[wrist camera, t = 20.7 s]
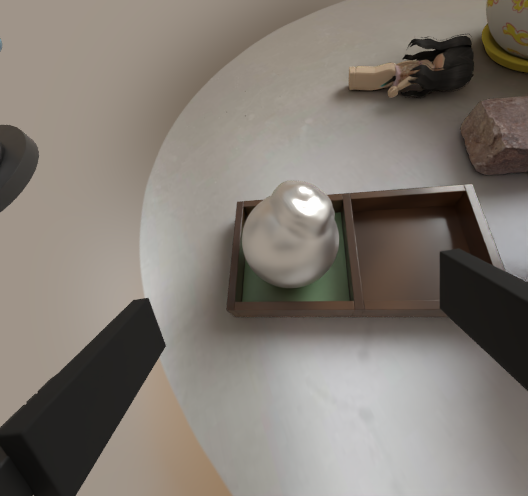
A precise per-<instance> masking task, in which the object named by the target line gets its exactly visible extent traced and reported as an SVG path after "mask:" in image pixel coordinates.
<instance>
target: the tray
mask: <svg viewBox="0 0 528 496" xmlns="http://www.w3.org/2000/svg"><path fill="white" fill-rule="evenodd" d="M327 196H328V197H329V198H330V200H331V202H332V206H333V209H334V212H335V218H334V220H335V222H336V225H337V228H338V233H339V247H338V252H337V255H336V258H335V260H334V262H333V264H332V266H331V267H330V269H329V270H328V271H327V272H326V273H325V274H324V275H323V276H322V277H321V278H320V279H318V280H317V281H315V282H313V283H311V284H309V285H307V286H303V287H299V288H282V287H277V286H274V285H272V284H269V283H267V282H266V281H264V280H262V279H261V278H260V277H259V276H258V275H256V274H255V272H254V271H253V270H252V269H251V267H250V266H249V264H248V262H247V260H246V258H245V255H244V252H243V247H242V233H243V228H244V225H245V222H246V220H247V218H248V216H249V214H250V213H251V211H252V210H253V209H254V208H255V207H256V206H257V205H258V204H259V203H260V202H261V201H263V200H254V201H244V202H243V201H242V202H237V209H236V219H235V229H234V239H233V248H232V258H231V268H230V278H229V288H228V298H227V308H226V310H227V311H228V312H230V313H231V314H232V315H233V316H235V317H448V316H447V315H446V314H445V313H444V312H443V311H442V310H441V309H440V251H446V250H452V249H458V248H459V249H461V250H463V251H465V252H467V253H469V254H471V255H473V256H475V257H477V258H479V259H481V260H483V261H485V262H487V263H489V264H491V265H493V266H495V267H497V268H499V269H501V270H503V271H505V269H504V266H503V263H502V261H501V258H500V255H499V253H498V250H497V247H496V245H495V242H494V240H493V237H492V234H491V232H490V229H489V226H488V224H487V221H486V218H485V216H484V213H483V211H482V208H481V205H480V203H479V200H478V197H477V195H476V192H475V189H474V187H473V184H464V185H451V186H438V187H425V188H411V189H398V190H385V191H372V192H359V193H346V194H333V195H327ZM505 272H506V271H505Z"/></svg>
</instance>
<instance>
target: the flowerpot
mask: <svg viewBox="0 0 528 496" xmlns="http://www.w3.org/2000/svg"><path fill="white" fill-rule="evenodd" d="M486 15H487V22H488V23H487V25H486V26H485V27H484V29H483V32H482V42H483V44H484V46H485V50H486V52H487V54H488V55H489V57H490V58H491V59H493V60H494V61H495V62H497V63H498V64H500V65H502V66H504V67H507V68H509V69H513V70H516V71H521V72H527V73H528V0H487V4H486Z"/></svg>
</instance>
